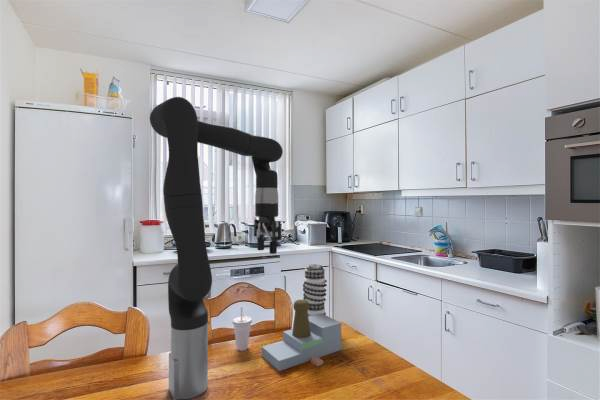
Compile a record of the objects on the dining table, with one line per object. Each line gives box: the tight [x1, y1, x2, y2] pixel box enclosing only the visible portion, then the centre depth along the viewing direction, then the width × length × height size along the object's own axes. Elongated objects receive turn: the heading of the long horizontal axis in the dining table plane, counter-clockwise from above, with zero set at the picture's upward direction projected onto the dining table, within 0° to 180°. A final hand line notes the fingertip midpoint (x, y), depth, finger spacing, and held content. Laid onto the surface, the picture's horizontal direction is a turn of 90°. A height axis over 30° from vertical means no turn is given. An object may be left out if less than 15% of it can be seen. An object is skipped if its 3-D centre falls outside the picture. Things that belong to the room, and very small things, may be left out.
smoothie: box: [232, 306, 253, 352], centre depth 106 cm, size 6×6×14 cm
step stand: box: [261, 313, 342, 372], centre depth 103 cm, size 24×11×9 cm, turn 124°
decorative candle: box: [302, 263, 328, 316], centre depth 121 cm, size 9×9×25 cm
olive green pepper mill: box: [292, 299, 311, 338], centre depth 103 cm, size 6×6×11 cm
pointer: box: [310, 357, 324, 367], centre depth 97 cm, size 2×4×1 cm, turn 34°
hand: (266, 251), depth 103 cm, fingers open, 8 cm apart
